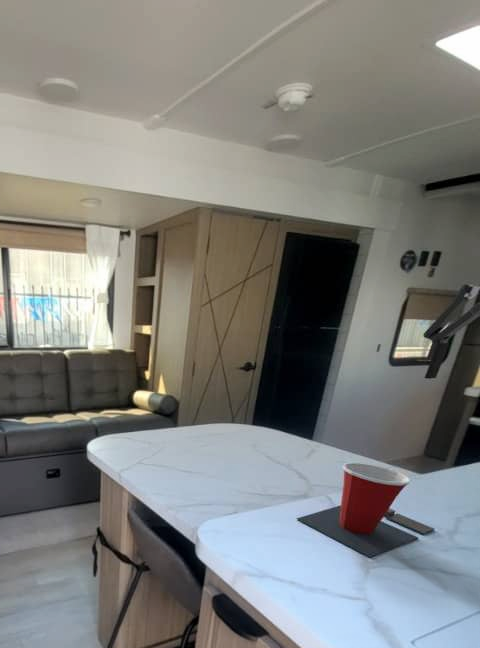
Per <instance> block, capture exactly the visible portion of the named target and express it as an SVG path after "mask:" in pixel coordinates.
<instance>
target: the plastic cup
mask: <svg viewBox="0 0 480 648" xmlns="http://www.w3.org/2000/svg"><path fill="white" fill-rule="evenodd" d="M342 469H343V486H342V487H343V488H342V493H341V503H340V505H341V513H340V525H341V526H342V527H343V528H344V529H346V530H348V531H350V532H353V533H357V534H367V535H368V534H371V533H372V532H373V531H374V530H375V529H376V527H377V526H378V524H379V522H380V521H382V520H383V519H384V517H385V516H384V515H385V514H386V512H387V511H388V509H389V508H390V507H391V506H392V504H393V503H394V501H395V500H396V499H397V497H398V496H399V494H400V493H401V492H402V490H404V488H405V487H406V486H407V485H408V486H409V485H410V483H411V482H412V479H411V478H410V477H409V476H407V475H405V474H403V473H402V472H399V471H396V470H393V469H390V468H386V467H383V466H380V465H374V464H369V463H363V462H345V463H344V464H342ZM390 509H391V508H390Z"/></svg>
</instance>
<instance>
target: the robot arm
mask: <svg viewBox="0 0 480 648" xmlns="http://www.w3.org/2000/svg"><path fill="white" fill-rule="evenodd" d="M477 295H478V298H479V299H480V286H475V285H474V284H462V285H461V287H460V288H459V290H458V292H457V295H456V296H455V298H454V299H453V301H452V302H451V303H449V305H448V306H447V307H446V308H445V310H443V311H442V313H441V314H440V315H439V316H438V317H437V318H436V319H435V320H434V322H432V324H431V325H430V326H429V327H428V328H427V329H426V330H425V331H424V332H423V334H422V336H423V338H424V339H428V340H429V341H431V345H430V348H429V351H428V354H427V356H426V360H429V361H430V362H429V365H428V367H427V370H426V373H425V375H424V379H428V380H430V379H431V380H432V379H437V376H438V373H439V372H440V369H441V366H442V363H443V361H444V359H445V357H446V353H447V350H448V348H449V345H450V342H447V340H449V339H450V338H452V337H453V336H454V335H455V334H457V333H458V332H460V331H461V330H462V329H464V328H465V327H467V326H468V325H469V324H470V323H472V322H473V321H475V320H476V319H477V318H479V317H480V301H478V302H477V303H476V304H474V305H473V306H472V307H470V308H469V310H468V311H466V312H465V313H464V314H462V315H461V316H459V317H458V318H457V319H456V320H454V321H453V319H454V317H455V316H457V314H459V312H460V311H461V310H462V309H463V308H464V307H465V306H466V305H467V303H468V302H469V301H470V300H472V299H473V298H475V296H477ZM451 321H453V322H451ZM450 322H451V324H449V323H450ZM448 324H449V325H448ZM447 325H448V326H447Z"/></svg>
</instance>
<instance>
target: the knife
mask: <svg viewBox="0 0 480 648" xmlns="http://www.w3.org/2000/svg"><path fill="white" fill-rule="evenodd" d="M384 517H385V520H387V521H390V522H392V523H394V524H397V525H399V526H401V527H404V528H406V529H409V530H410V531H413V532H415V533H417V534H419V535H422V536H423V535H426V534H428V533H430V532H433V531H435V528H434V527H433V526H429V525H426V524H424V523H422V522H419V521H417V520H415V519H412V518H409V517H408V516H406V515H403V514H401V513H398V512H397V513H396V510H394V509H393V508H389V509H388V511H387V512H386V514H385V515H384Z"/></svg>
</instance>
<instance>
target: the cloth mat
mask: <svg viewBox="0 0 480 648" xmlns="http://www.w3.org/2000/svg"><path fill="white" fill-rule="evenodd" d="M340 513H341V504H340V505H336V506H333V507H330V508H327V509H323V510H320V511H317V512H313V513H310V514H307V515H303V516H300V517H297V518H296V519H298V520H299V521H298V520H297V521H298V522H300V521H301V522H300V523H302V522H303V523H302V524H304V523H305V524H304V525H306V524H307V525H306V526H308V527H310V528H312V529H314V530H316V531H317V532H319V533H321V534H323V535H325V536H326V537H329V538H331V539H333V540H334V541H336V542H339V543H340V544H342V545H344V546H347V547H348V548H350V549H352V550H353V551H355V552H357V553H360V554H361V555H363V556H365V557H367V558H369V559H371V558H374V557H377V556H380V555H382V554H385V553H387V552H389V551H391V550H394V549H396V548H399V547H401V546H403V545H404V546H405V545H406V544H409V543H411V542H413V541H414V542H415V541H416V540H419V536H416V535H414V534H411V533H409V532H407V531H405V530H402V529H400V528H398V527H395V526H394V525H391V524H388V523H386V522H384V521H382V520H381V521H380V522H379V524H378V526H377V527H376V529H375V530H374V531H373V532H372V533H371V534H368V535H367V534H357V533H353V532H350V531H348V530H346V529H344V528H343V527H342V526H341V525H340ZM393 548H394V549H393ZM388 550H389V551H388Z"/></svg>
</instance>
